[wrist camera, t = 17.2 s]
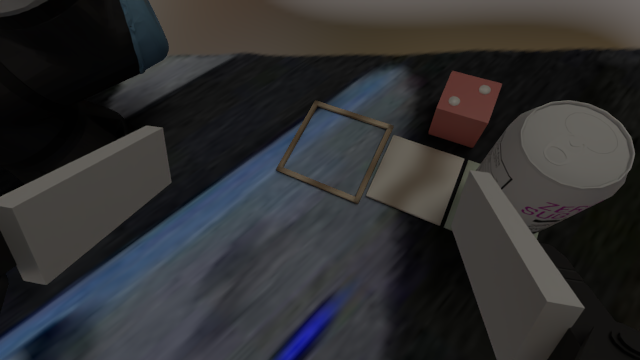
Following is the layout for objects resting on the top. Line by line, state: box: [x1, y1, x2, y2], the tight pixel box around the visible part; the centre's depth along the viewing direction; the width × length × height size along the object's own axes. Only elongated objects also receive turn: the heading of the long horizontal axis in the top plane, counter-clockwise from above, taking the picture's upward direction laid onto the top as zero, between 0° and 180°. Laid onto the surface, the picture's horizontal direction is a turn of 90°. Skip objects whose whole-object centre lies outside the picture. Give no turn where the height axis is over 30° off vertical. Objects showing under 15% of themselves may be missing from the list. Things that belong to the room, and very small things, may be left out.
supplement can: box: [460, 100, 635, 234], centre depth 29 cm, size 8×8×15 cm
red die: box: [428, 71, 502, 148], centre depth 39 cm, size 6×6×6 cm
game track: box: [276, 100, 538, 239], centre depth 39 cm, size 31×12×1 cm, turn 64°
